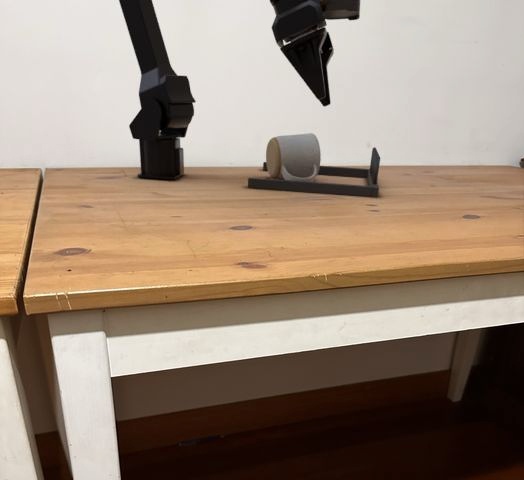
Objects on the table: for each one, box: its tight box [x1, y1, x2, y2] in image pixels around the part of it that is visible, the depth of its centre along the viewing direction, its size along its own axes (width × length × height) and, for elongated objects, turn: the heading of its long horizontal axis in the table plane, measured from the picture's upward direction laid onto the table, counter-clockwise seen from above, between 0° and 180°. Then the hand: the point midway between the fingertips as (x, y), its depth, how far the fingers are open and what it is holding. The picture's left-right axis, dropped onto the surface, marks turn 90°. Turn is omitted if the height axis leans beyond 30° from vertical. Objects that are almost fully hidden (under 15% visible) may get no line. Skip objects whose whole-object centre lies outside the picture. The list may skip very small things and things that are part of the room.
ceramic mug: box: [265, 132, 322, 182], centre depth 91 cm, size 11×8×8 cm
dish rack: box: [247, 146, 381, 198], centre depth 91 cm, size 21×19×6 cm
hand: (324, 102), depth 73 cm, fingers open, 9 cm apart
